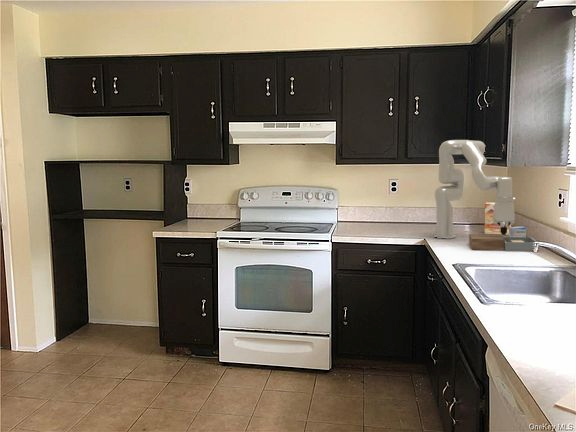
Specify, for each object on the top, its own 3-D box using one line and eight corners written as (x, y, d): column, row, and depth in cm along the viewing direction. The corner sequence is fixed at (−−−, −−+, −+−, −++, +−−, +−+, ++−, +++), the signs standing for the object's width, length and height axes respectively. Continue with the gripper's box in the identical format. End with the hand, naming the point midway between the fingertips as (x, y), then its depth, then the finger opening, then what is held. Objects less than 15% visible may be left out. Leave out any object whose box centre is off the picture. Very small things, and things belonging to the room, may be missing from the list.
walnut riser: (469, 244, 278) (469, 234, 277) (499, 245, 274) (499, 234, 273) (471, 250, 263) (472, 239, 262) (504, 250, 258) (504, 239, 258)
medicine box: (514, 243, 278) (514, 228, 277) (508, 242, 283) (509, 227, 282) (526, 242, 280) (526, 227, 279) (520, 241, 285) (520, 226, 284)
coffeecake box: (484, 233, 313) (484, 203, 311) (485, 232, 319) (486, 202, 317) (510, 234, 306) (510, 203, 304) (511, 233, 312) (511, 202, 310)
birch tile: (521, 240, 265) (521, 245, 266) (509, 239, 267) (509, 245, 267) (524, 242, 259) (524, 247, 260) (511, 241, 261) (511, 247, 261)
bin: (499, 244, 275) (499, 236, 274) (531, 245, 271) (531, 237, 270) (505, 251, 257) (505, 242, 257) (538, 251, 253) (539, 242, 253)
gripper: (518, 199, 265) (517, 233, 267) (488, 199, 268) (487, 233, 271) (520, 200, 257) (520, 235, 259) (490, 201, 261) (489, 235, 263)
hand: (503, 234), depth 265 cm, fingers closed
